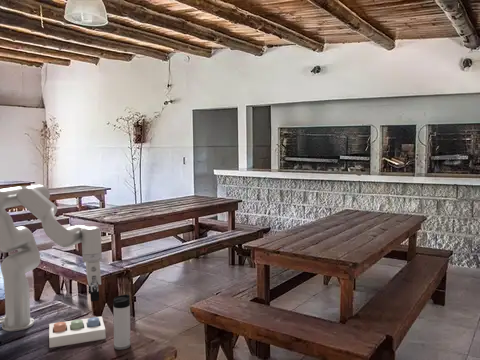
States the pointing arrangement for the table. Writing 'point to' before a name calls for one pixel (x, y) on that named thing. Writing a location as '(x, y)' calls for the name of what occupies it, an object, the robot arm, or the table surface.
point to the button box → (76, 334)
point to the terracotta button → (59, 327)
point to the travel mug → (121, 322)
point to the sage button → (76, 324)
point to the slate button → (93, 322)
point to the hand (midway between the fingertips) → (93, 297)
